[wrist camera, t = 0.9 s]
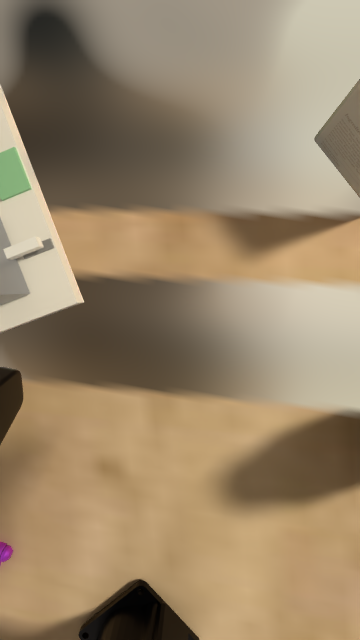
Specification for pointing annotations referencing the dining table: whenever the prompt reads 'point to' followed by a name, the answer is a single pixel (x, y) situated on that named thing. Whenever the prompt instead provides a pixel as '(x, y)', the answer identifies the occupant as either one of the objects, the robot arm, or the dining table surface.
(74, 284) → the plate
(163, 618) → the robot arm
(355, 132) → the product box
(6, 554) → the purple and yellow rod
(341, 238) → the dining table surface
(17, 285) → the gray block
